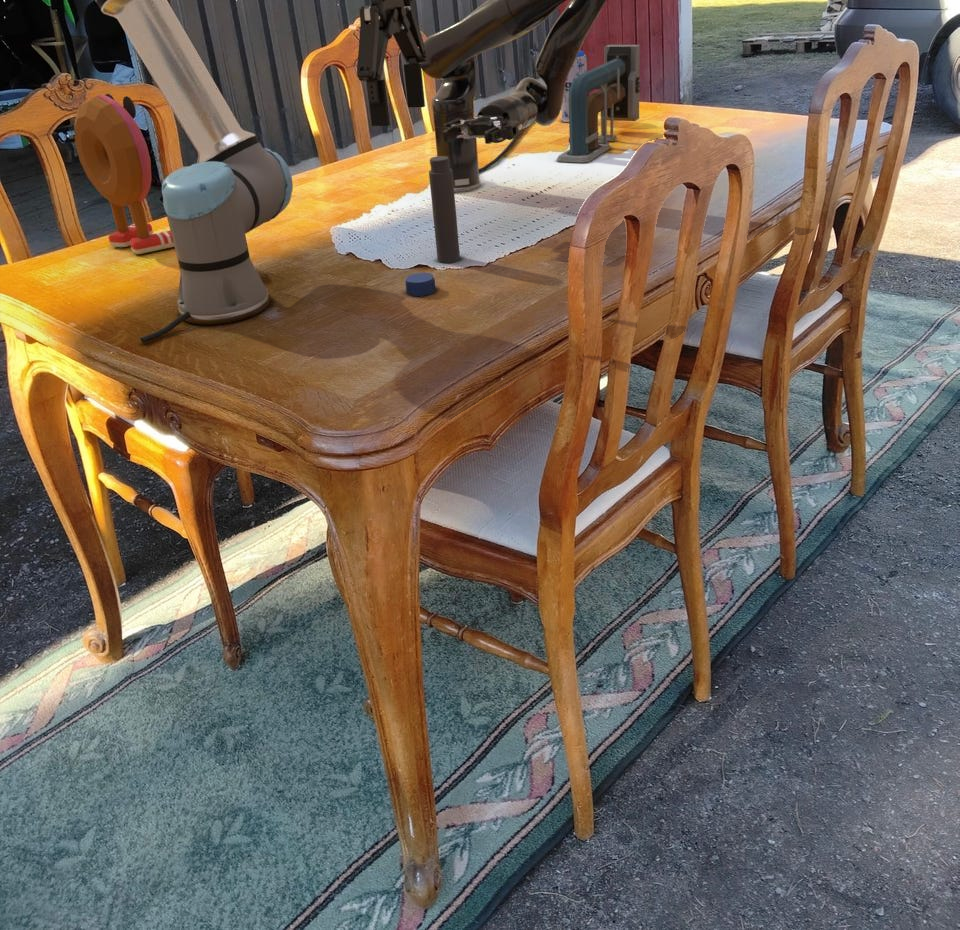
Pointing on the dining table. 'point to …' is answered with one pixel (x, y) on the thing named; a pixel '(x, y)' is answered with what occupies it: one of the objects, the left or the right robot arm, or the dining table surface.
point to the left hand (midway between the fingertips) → (399, 116)
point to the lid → (420, 284)
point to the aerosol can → (576, 70)
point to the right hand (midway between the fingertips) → (466, 137)
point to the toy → (118, 168)
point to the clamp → (602, 102)
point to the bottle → (444, 210)
